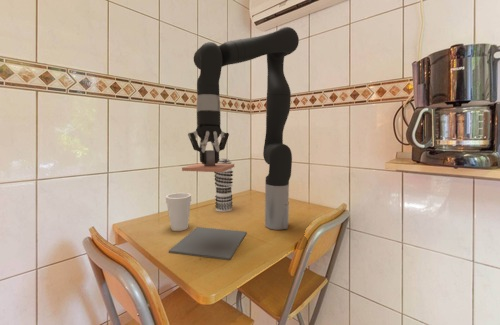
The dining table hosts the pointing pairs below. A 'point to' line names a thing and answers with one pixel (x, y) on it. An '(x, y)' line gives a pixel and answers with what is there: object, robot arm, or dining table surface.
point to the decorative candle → (223, 188)
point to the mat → (210, 243)
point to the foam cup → (178, 210)
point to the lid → (209, 164)
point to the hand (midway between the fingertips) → (209, 163)
